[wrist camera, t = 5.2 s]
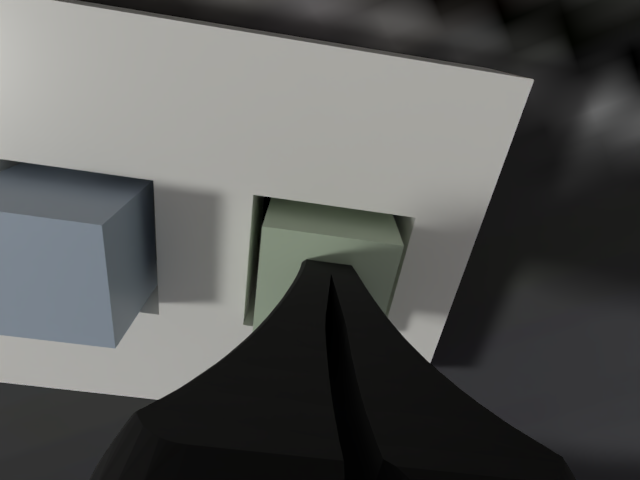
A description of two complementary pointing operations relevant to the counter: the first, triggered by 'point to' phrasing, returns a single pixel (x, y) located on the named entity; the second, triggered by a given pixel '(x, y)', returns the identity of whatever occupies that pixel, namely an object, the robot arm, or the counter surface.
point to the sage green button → (324, 248)
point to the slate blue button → (74, 253)
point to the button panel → (244, 166)
